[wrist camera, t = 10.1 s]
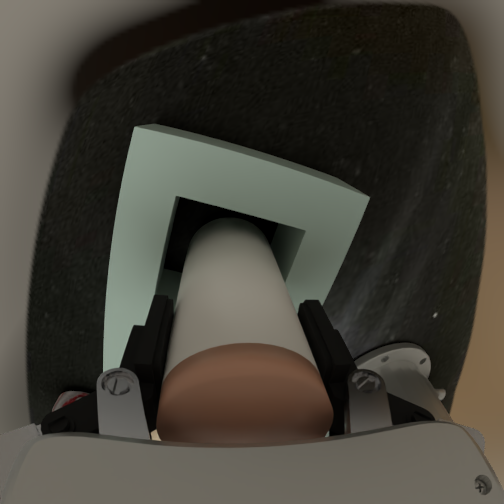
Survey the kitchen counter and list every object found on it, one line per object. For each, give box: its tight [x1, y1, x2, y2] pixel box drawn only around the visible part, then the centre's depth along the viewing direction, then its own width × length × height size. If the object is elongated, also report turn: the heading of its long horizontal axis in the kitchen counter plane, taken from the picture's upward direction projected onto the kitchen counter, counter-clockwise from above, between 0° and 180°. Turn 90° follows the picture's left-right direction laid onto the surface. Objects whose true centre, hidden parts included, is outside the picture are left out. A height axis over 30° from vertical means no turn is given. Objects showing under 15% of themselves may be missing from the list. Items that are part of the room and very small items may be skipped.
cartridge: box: [156, 217, 334, 443], centre depth 13 cm, size 5×5×12 cm
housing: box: [103, 124, 370, 373], centre depth 20 cm, size 12×19×5 cm, turn 162°
